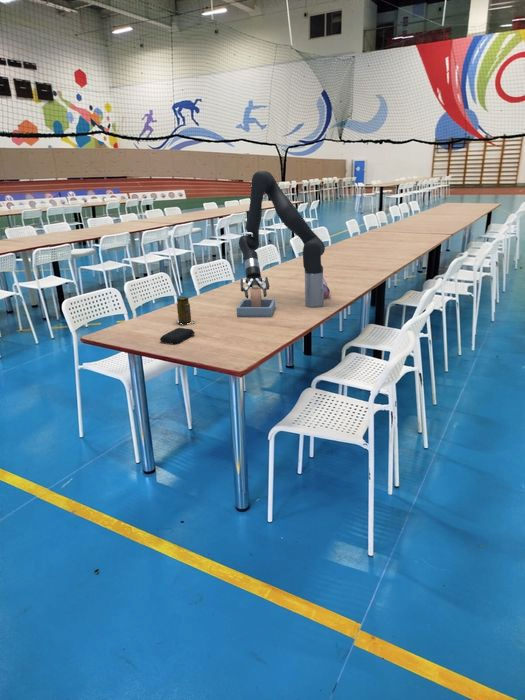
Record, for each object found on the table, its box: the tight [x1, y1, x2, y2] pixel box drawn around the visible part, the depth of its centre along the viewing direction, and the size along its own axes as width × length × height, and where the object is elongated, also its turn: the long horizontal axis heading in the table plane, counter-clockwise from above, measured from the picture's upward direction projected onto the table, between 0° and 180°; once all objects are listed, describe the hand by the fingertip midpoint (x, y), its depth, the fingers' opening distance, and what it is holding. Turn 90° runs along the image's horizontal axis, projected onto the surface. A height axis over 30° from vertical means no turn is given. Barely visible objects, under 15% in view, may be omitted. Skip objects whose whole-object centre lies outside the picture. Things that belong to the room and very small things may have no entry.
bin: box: [236, 298, 277, 318], centre depth 239 cm, size 17×16×4 cm
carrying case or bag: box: [159, 327, 195, 345], centre depth 208 cm, size 11×3×15 cm
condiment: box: [175, 296, 196, 326], centre depth 227 cm, size 7×8×12 cm
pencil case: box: [323, 277, 331, 300], centre depth 265 cm, size 21×9×9 cm, turn 179°
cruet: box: [249, 285, 262, 307], centre depth 237 cm, size 5×5×12 cm
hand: (256, 297), depth 236 cm, fingers open, 8 cm apart
